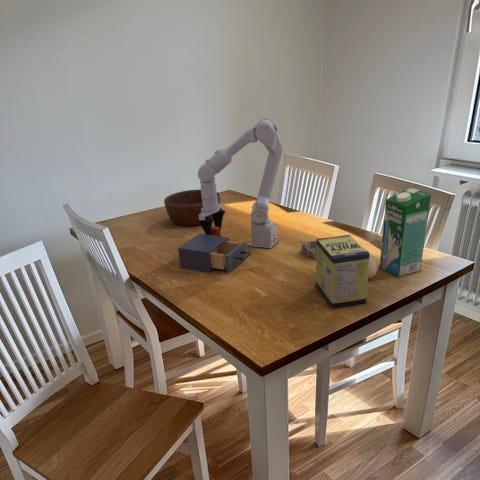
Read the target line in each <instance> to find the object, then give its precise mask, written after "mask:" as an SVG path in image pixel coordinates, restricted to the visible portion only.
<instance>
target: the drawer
mask: <svg viewBox="0 0 480 480" xmlns="http://www.w3.org/2000/svg"><path fill="white" fill-rule="evenodd" d="M209 254H210V263H211V268H215V269H218V270H223V271H224V270H225V271H226V273H227V272H228V273H230V272H232V270H234V269H235V268H236V267H237V266H239V264H241V263H242V262H244V261H245V260H246V259H247V258H249V256H251V255H252V251H251V250H248V251H247V241H242V242H241V243H240V242H237V241H230V240H229V241H225V242H224V243H223V244H221V245H220V246H219V247H217V248H216V249H214V250H213V251H212V252H210V253H209Z"/></svg>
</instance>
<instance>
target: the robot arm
mask: <svg viewBox="0 0 480 480" xmlns="http://www.w3.org/2000/svg"><path fill="white" fill-rule="evenodd" d="M258 141H259V143H261V144H263V145H264V147H265V148H266V150H267V151H268V155H267V159H266V163H265V167H264V171H263V173H262V178H261V182H260V185H259V190H258V194H257V197H256V199H255V202H253V204H252V207H251V212H250V228H251V241H250V242H249V243H248V244H247V246H248V247H256V248H263V249H264V248H265V249H272V247H274V246H275V245H276V244H277V243H278V242H279V239H278V226H277V225H278V224H277V223H276V222H274V221H271V218H270V217H269V209H270V207H269V202H270V199H271V195H272V192H273V188H274V184H275V180H276V176H277V173H278V168H279V165H280V162H281V158H282V154H283V152H284V151H283V150H284V146H283V143H282V140H281V138H280V134H279V130H278V127H277V125H275V123H274V122H273V121H272V120H271V119H269V118H262V119H260V120H259V121H258V122H257V123H255V124H253V125H252V126H251V127H249V128H247V130H245V131H244V132H243V133H242V134H241V135H240V136H239V137H237V139H236V140H234V141H233V142H232V143H231V144H230V145H229V146H228V147H227V148H220V149H216V150H215V152H214V154H213V155H212V156H211V157H210V158H209V159H208V158H207V159H206V160H205V161H204V163H203V164H201V165H200V167H199V169H198V171H197V177H198V180H199V183H200V186H199V187H200V190H201V195H202V203H203V208H202V209H201V211H202V212H201V214H199V218H198V222H199V223H200V224H201V225H200V226H201V228H202V230H203V233H204V234H205V235H211V234H212V231H211V227H213V226H212V225H214V227H220V230H222V226H223V220H224V215H225V214H226V210H225V209H224V206H223V203H222V202H220V203H218V199H217V192H218V191H217V190H218V189H217V184H216V178H215V176H216V175H217V174H219V173H221V172H222V171H223V170H224V169H225V168H226V167H228V166H229V165H230V164H231V163H232V161H233V160H232V158H233V156H235V155H236V154H237V153H238V152H240V151H241V150H242V149H243V148H244V147H246V146H247V145H248V144H252V143H257V142H258ZM210 215H212V217H213V219H209V218H208V216H210Z"/></svg>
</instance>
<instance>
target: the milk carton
mask: <svg viewBox="0 0 480 480" xmlns="http://www.w3.org/2000/svg"><path fill="white" fill-rule="evenodd" d="M431 198H432V193H430V192H427V191H424V190H420V189H418V188H414V187H408V188H406V189H405V190H402V191H400V192H398V193H396V194H394V195H392V196H390V197H388V198H387V199H385V207H384V217H383V227H382V238H381V239H382V240H381V248H380V261H379V268H381V270H384V271H386V272H387V273H389V274H392V275H393V276H395V277H397V278H400V277H403V276H406V275H411V274H414V273H417V272H420V271H421V268H422V261H423V255H424V254H423V253H424V247H425V241H426V240H425V239H426V233H427V226H428V220H429V215H430V214H429V213H430V207H431V206H430V205H431Z"/></svg>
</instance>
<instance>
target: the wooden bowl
mask: <svg viewBox="0 0 480 480" xmlns="http://www.w3.org/2000/svg"><path fill="white" fill-rule="evenodd" d="M217 199H218V203H221V194H220V193H219V192H218V191H217ZM163 201H164V202H163V204H164V207H165V210H166V213H167V215H168V217H169V219H170V220H171V221H172V223H173V224H175V225H177V226H181V227H196V226H201V224H200V223H199V222H198V218H199V214H201V212H202V211H201V209H202V208H203V203H202V195H201V189H190V190H189V189H188V190H182V191H178V192H175V193H172V194H169V195H167V196H166V197H165V198H164V200H163ZM208 218H209V219H213V217H212V215H210V216H208Z"/></svg>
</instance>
